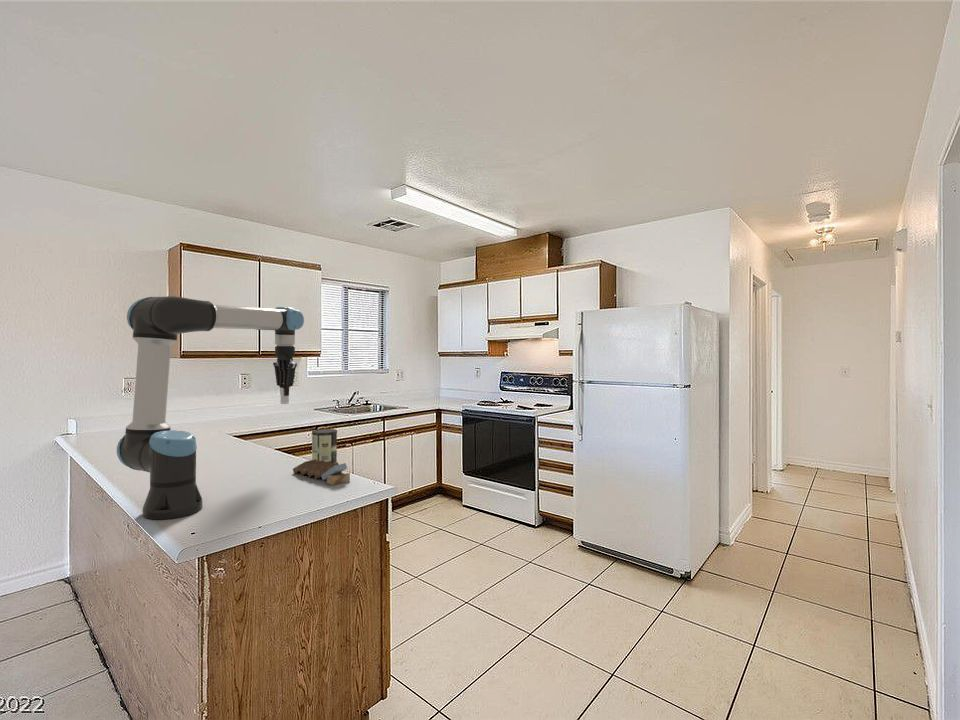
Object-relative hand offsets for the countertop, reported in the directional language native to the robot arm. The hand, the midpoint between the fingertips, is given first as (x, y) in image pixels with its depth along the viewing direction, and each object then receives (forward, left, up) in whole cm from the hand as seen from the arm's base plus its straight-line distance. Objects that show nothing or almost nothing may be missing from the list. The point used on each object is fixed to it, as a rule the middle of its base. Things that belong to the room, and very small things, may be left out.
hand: (284, 403), depth 197 cm
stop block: (0, -34, -26) cm, 43 cm away
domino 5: (0, -27, -25) cm, 37 cm away
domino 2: (0, -15, -26) cm, 30 cm away
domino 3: (0, -19, -26) cm, 32 cm away
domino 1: (0, -10, -26) cm, 27 cm away
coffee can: (+15, -6, -27) cm, 31 cm away
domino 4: (0, -23, -26) cm, 35 cm away
